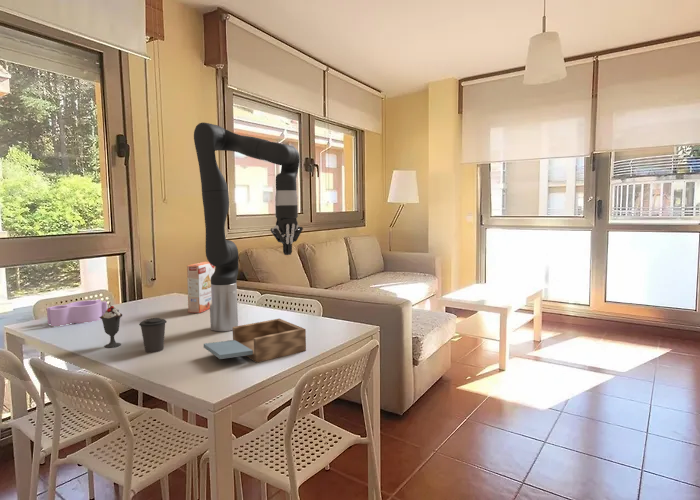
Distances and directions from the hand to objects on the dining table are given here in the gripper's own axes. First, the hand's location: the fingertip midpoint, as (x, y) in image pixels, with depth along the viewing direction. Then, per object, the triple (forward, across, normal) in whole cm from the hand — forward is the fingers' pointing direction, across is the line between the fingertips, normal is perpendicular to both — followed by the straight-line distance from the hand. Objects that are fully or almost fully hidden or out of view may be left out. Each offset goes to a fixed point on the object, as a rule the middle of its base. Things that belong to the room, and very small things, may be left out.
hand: (287, 254), depth 151 cm
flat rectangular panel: (+27, +22, +4) cm, 35 cm away
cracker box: (+29, -1, -61) cm, 68 cm away
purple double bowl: (+29, +42, -82) cm, 97 cm away
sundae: (+29, +45, -37) cm, 65 cm away
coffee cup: (+29, +38, -22) cm, 53 cm away
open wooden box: (+29, +13, +6) cm, 32 cm away
